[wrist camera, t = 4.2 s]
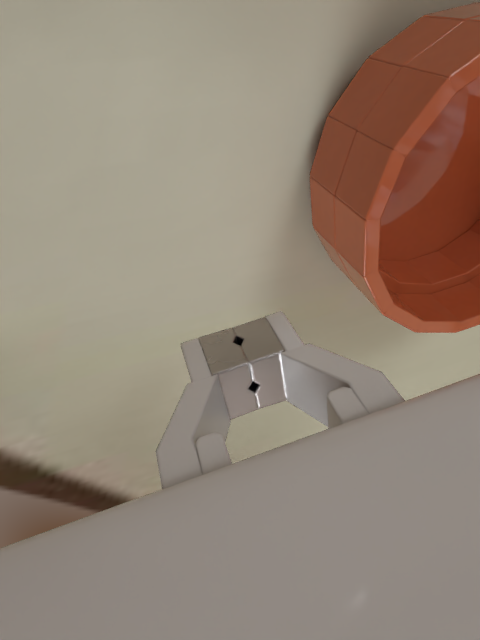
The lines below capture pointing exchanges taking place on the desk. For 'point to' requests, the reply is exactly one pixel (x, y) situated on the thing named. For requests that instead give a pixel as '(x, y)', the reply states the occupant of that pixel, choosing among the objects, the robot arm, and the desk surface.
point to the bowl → (408, 175)
